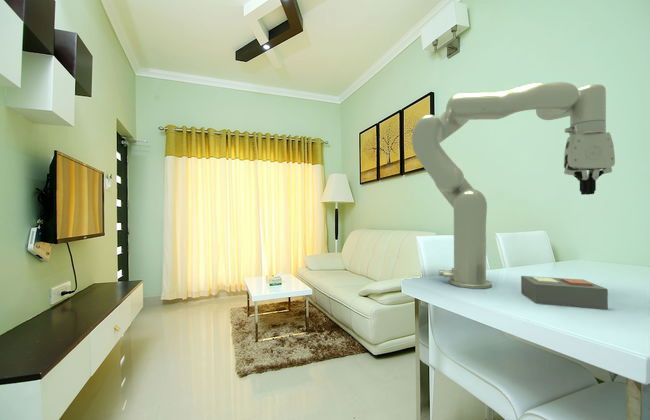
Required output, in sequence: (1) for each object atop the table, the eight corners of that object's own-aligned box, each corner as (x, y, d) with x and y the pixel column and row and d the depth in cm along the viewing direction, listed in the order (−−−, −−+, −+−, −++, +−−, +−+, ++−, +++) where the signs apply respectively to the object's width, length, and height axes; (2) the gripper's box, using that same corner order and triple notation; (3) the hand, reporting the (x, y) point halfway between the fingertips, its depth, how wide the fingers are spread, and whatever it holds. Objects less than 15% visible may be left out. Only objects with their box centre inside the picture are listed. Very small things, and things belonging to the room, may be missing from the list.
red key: (570, 294, 73) (570, 282, 73) (561, 289, 77) (561, 278, 77) (592, 296, 72) (592, 283, 72) (581, 291, 76) (581, 279, 76)
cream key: (538, 292, 75) (538, 280, 75) (531, 288, 79) (531, 276, 79) (559, 294, 74) (559, 281, 74) (551, 289, 78) (551, 278, 78)
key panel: (535, 303, 73) (535, 284, 73) (521, 292, 82) (521, 275, 82) (607, 309, 69) (607, 289, 69) (583, 297, 78) (583, 279, 78)
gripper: (563, 129, 79) (563, 193, 79) (630, 124, 75) (630, 193, 75) (550, 136, 86) (550, 195, 86) (610, 132, 82) (611, 194, 82)
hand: (587, 194), depth 80 cm, fingers closed
